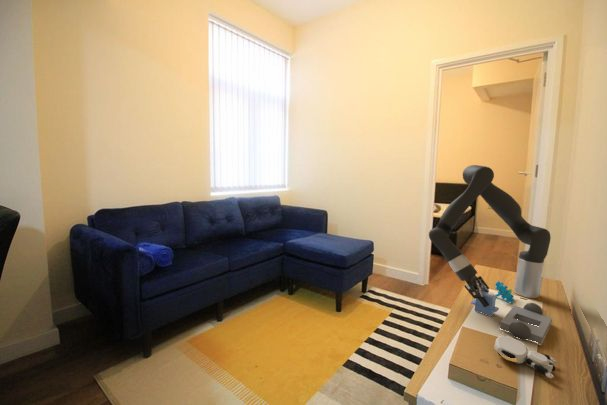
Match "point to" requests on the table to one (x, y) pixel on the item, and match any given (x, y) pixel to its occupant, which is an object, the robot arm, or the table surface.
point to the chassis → (527, 315)
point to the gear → (504, 292)
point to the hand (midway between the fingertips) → (489, 303)
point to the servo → (490, 299)
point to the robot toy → (525, 355)
